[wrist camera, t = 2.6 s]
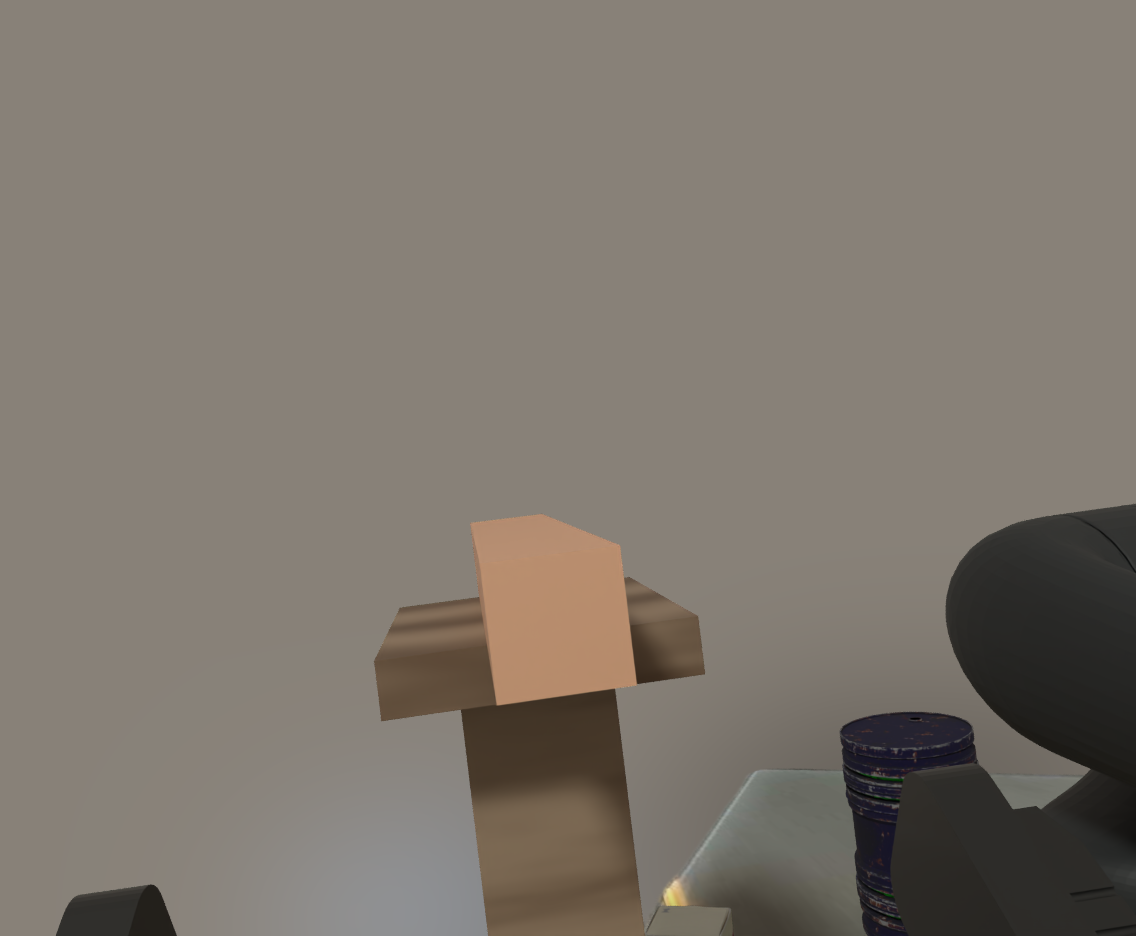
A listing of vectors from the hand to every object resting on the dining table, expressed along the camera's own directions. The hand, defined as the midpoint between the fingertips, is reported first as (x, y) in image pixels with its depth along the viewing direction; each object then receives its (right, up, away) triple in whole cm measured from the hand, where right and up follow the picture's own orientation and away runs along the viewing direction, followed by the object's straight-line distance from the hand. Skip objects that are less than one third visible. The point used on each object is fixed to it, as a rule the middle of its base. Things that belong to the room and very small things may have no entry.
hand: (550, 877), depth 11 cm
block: (-1, -1, +26) cm, 26 cm away
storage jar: (+28, -30, +65) cm, 77 cm away
